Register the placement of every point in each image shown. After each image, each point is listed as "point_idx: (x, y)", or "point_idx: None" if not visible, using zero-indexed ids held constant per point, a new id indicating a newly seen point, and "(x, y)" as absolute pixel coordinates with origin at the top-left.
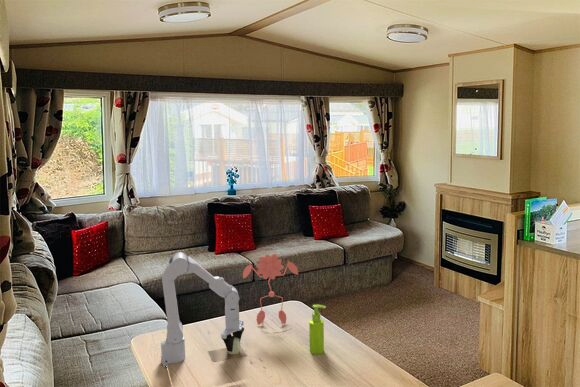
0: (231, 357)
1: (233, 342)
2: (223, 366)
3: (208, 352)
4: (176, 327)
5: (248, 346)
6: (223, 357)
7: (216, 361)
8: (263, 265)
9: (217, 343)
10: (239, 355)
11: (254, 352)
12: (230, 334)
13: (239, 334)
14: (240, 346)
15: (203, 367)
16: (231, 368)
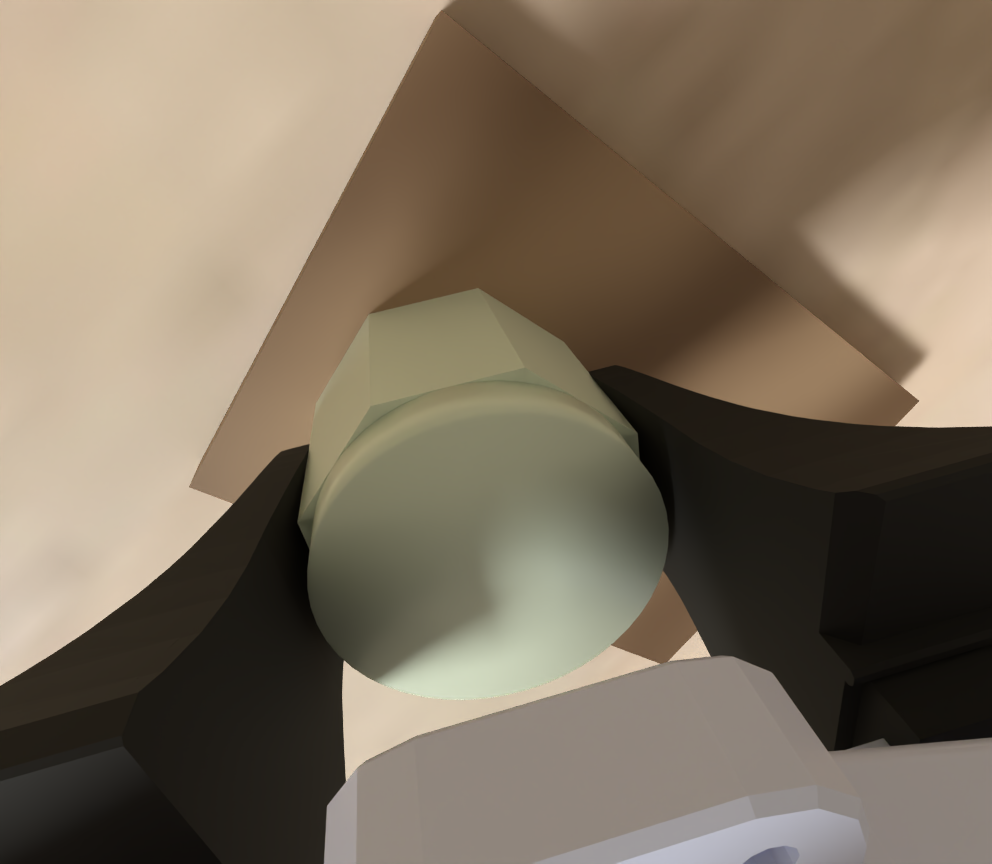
0: (673, 269)
1: (631, 457)
2: (898, 206)
3: (686, 639)
4: None
5: (33, 377)
6: (730, 385)
7: (885, 375)
8: None
9: (367, 750)
10: (530, 187)
11: (99, 44)
12: (920, 709)
13: (249, 633)
14: (225, 450)
15: (980, 425)
16: (933, 6)
